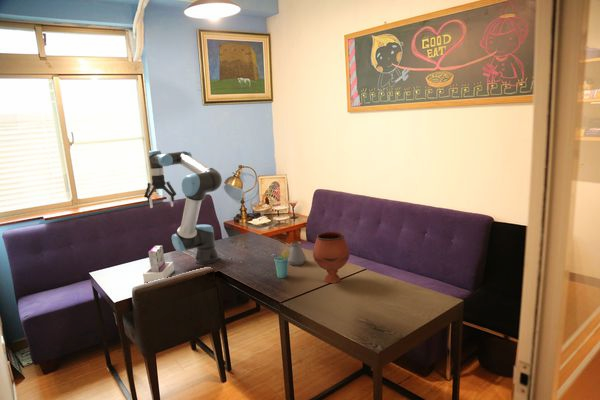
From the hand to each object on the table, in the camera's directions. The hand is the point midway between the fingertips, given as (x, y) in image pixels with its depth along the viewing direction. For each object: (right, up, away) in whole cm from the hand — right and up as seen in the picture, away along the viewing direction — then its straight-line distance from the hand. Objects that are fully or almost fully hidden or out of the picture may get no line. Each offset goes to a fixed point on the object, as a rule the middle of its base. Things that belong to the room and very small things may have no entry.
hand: (161, 207), depth 264 cm
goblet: (+107, -38, -47) cm, 123 cm away
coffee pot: (+84, -33, -15) cm, 91 cm away
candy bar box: (+7, -40, -26) cm, 48 cm away
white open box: (+7, -40, -26) cm, 48 cm away
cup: (+79, -38, -38) cm, 96 cm away
